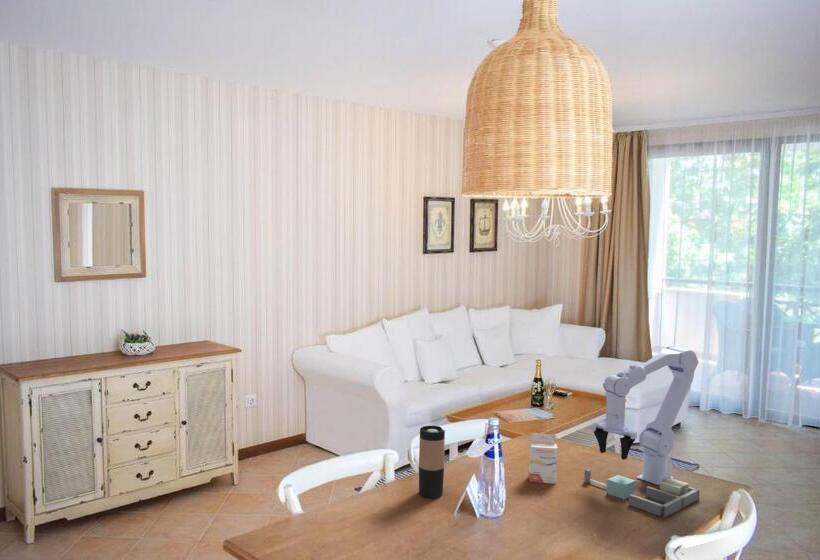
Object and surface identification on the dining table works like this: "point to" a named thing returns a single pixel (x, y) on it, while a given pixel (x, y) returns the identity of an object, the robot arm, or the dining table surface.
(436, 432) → the travel mug
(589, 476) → the teal block with cord
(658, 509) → the lane rack
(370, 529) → the dining table surface
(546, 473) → the ink cartridge box
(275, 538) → the dining table surface
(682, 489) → the sage block
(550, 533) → the dining table surface
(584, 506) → the dining table surface
